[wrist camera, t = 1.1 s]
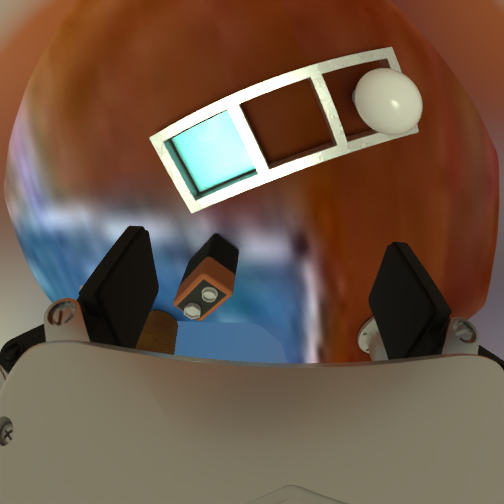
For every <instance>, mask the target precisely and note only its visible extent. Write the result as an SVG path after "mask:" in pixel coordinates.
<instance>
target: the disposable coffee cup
mask: <svg viewBox="0 0 504 504" xmlns="http://www.w3.org/2000/svg"><path fill="white" fill-rule="evenodd" d="M177 329H178V324H177V321H176V320H175V319H174V318H173V317H172V316H171V315H169V314H168V313H166V312H163V311H158V310H153V311H150V312H149V315H148V317H147V320H146V322H145V325H144V327H143V330H142V332H141V335H140V337H139V340H138V342H137V345H136V348H135V349H137V350H144V351H151V352H157V353H164V354H171V355H174V351H175V343H176V336H177Z"/></svg>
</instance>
